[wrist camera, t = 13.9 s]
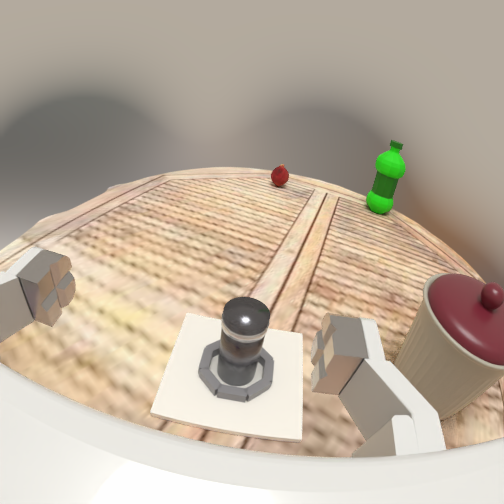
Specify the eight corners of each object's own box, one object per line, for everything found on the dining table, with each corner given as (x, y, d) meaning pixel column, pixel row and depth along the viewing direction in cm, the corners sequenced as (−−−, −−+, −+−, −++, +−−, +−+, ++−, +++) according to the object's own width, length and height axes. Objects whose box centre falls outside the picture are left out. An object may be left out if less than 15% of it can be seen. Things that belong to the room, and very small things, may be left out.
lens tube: (212, 382, 36) (218, 324, 31) (220, 352, 41) (227, 292, 35) (253, 390, 36) (269, 334, 30) (257, 359, 41) (272, 300, 35)
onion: (281, 191, 99) (285, 168, 95) (266, 185, 102) (270, 163, 97) (289, 187, 104) (293, 165, 99) (275, 182, 106) (278, 160, 102)
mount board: (151, 415, 32) (148, 406, 30) (187, 317, 47) (187, 305, 45) (299, 442, 31) (305, 434, 30) (300, 337, 47) (304, 327, 45)
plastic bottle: (384, 220, 93) (407, 148, 80) (358, 206, 99) (377, 136, 86) (394, 214, 100) (415, 148, 87) (369, 202, 106) (387, 137, 92)
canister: (419, 462, 28) (530, 363, 17) (349, 372, 42) (412, 253, 30) (478, 403, 36) (555, 310, 25) (418, 337, 49) (473, 240, 38)
